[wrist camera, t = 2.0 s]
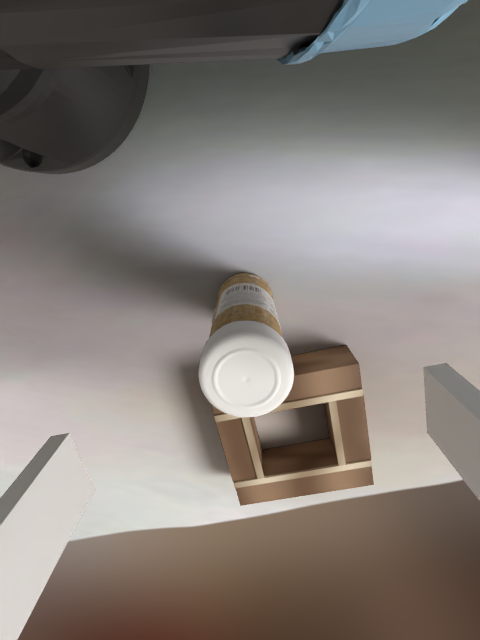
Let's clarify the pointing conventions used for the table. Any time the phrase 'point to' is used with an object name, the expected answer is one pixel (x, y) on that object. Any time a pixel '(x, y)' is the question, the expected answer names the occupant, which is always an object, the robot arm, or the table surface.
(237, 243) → the table surface
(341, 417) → the socket
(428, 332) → the table surface
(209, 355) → the sprinkles bottle
